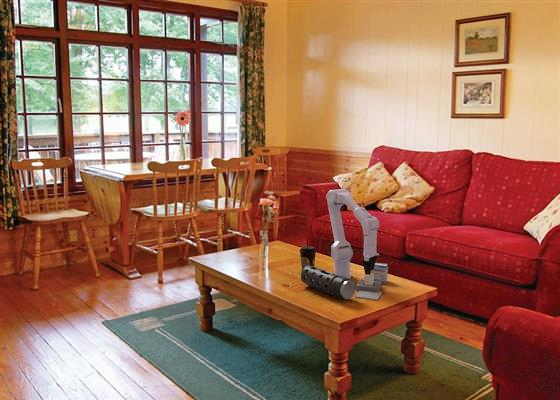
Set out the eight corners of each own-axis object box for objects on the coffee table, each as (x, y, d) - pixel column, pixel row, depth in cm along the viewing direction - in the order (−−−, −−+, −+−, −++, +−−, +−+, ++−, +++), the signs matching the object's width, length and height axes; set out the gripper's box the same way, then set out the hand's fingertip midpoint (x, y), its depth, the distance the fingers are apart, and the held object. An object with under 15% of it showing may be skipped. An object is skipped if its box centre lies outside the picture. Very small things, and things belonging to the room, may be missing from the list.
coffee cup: (307, 275, 274) (307, 250, 272) (295, 271, 280) (295, 247, 278) (319, 271, 279) (319, 247, 277) (307, 268, 286) (308, 244, 283)
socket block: (360, 284, 260) (360, 279, 259) (381, 286, 256) (381, 281, 256) (355, 290, 250) (355, 285, 250) (377, 293, 247) (377, 288, 246)
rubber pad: (360, 290, 251) (360, 289, 251) (382, 293, 247) (382, 292, 247) (355, 297, 241) (355, 296, 241) (377, 300, 238) (377, 299, 238)
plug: (365, 287, 256) (366, 269, 254) (373, 288, 254) (374, 270, 253) (364, 289, 252) (364, 271, 251) (371, 290, 251) (372, 272, 250)
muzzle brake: (315, 284, 261) (316, 263, 259) (356, 300, 238) (357, 277, 237) (300, 287, 255) (300, 266, 253) (340, 305, 233) (341, 281, 231)
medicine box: (369, 281, 264) (370, 264, 262) (371, 279, 268) (371, 262, 266) (386, 283, 261) (386, 266, 260) (387, 280, 265) (388, 263, 264)
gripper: (375, 248, 242) (374, 277, 244) (381, 240, 255) (381, 268, 257) (360, 246, 244) (359, 275, 246) (367, 239, 257) (366, 267, 260)
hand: (369, 272), depth 252 cm, fingers open, 7 cm apart
